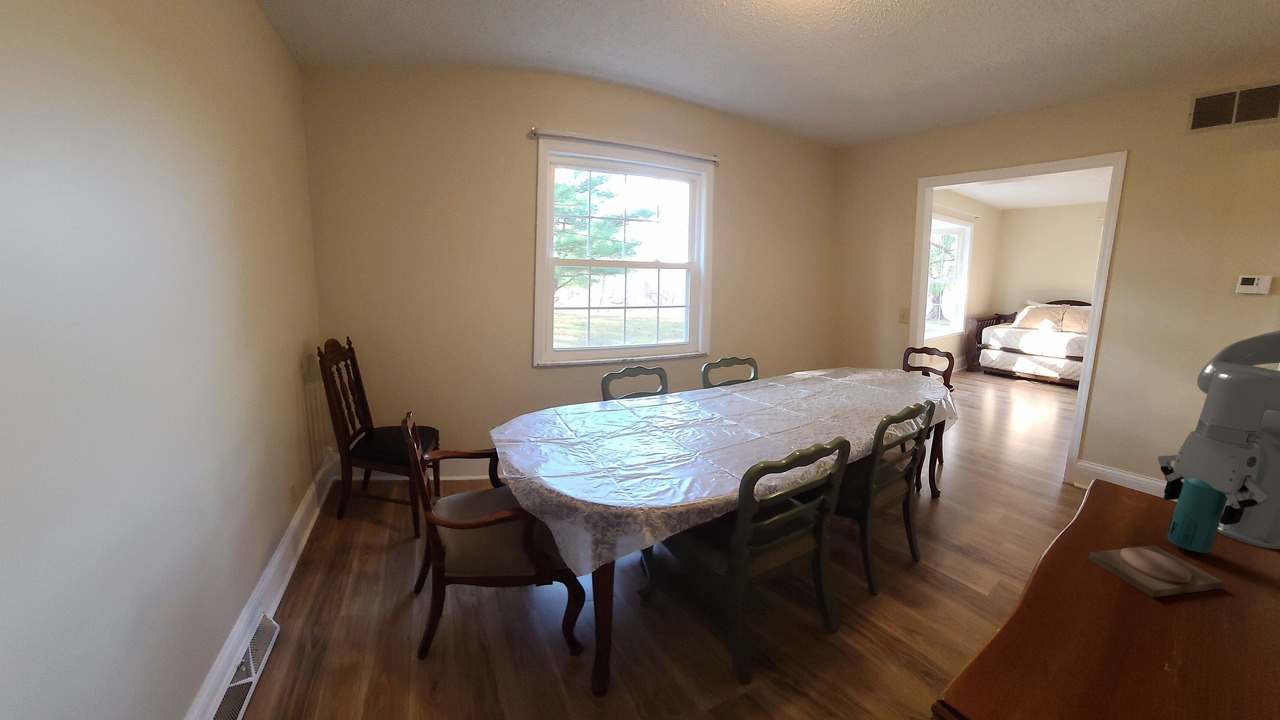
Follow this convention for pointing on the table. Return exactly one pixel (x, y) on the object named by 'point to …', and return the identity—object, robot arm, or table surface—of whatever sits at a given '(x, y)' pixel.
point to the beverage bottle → (1197, 516)
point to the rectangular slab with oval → (1155, 571)
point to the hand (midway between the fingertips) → (1198, 510)
